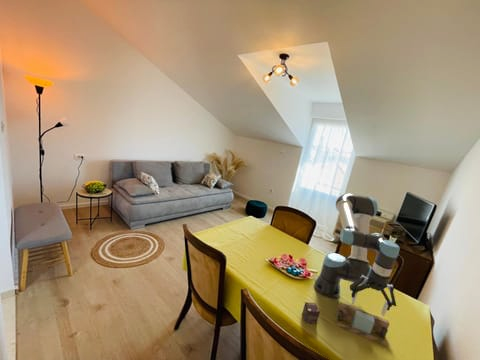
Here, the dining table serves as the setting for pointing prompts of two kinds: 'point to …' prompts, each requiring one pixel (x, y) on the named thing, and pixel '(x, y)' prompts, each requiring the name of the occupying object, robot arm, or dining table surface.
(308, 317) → the box
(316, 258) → the dining table surface
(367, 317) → the pale grey block
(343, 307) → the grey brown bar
